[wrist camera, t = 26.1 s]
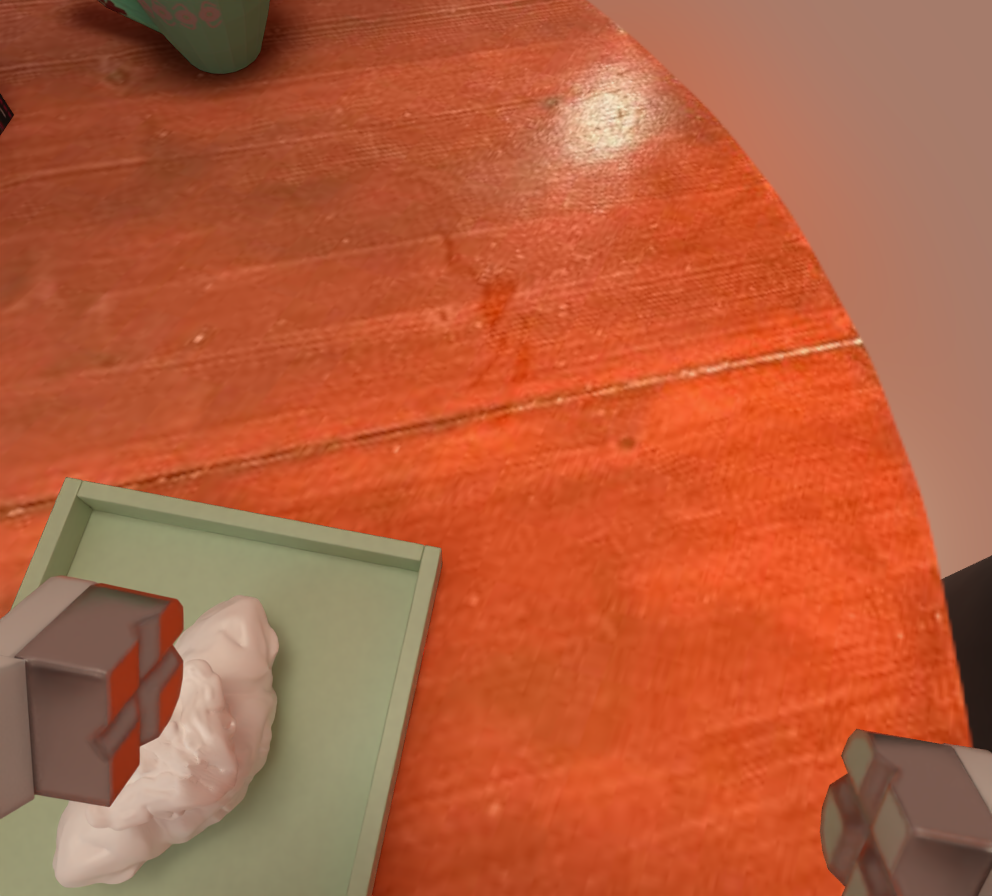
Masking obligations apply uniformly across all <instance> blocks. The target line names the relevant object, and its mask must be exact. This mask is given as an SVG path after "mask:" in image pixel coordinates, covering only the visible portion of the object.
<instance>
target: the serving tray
mask: <svg viewBox="0 0 992 896" xmlns="http://www.w3.org/2000/svg"><path fill="white" fill-rule="evenodd" d="M441 568H442V551H441V548H438V547H433V546H428V545H425V546H424V545H422V544H417V543H412V542H406V541H401V540H396V539H391V538H385V537H380V536H375V535H369V534H364V533H359V532H354V531H348V530H343V529H338V528H332V527H327V526H322V525H316V524H311V523H306V522H301V521H295V520H290V519H285V518H279V517H274V516H269V515H263V514H258V513H253V512H248V511H242V510H237V509H232V508H226V507H221V506H216V505H211V504H205V503H200V502H195V501H189V500H184V499H179V498H173V497H168V496H163V495H158V494H152V493H147V492H142V491H136V490H131V489H126V488H120V487H115V486H110V485H105V484H99V483H94V482H89V481H82V480H79V479H74V478H68V477H66V478H65V481H64V483H63V485H62V488H61V490H60V493H59V495H58V497H57V500H56V502H55V505H54V507H53V509H52V512H51V514H50V517H49V519H48V521H47V524H46V526H45V529H44V531H43V533H42V536H41V538H40V541H39V543H38V545H37V548H36V550H35V553H34V555H33V557H32V560H31V562H30V565H29V567H28V569H27V572H26V574H25V577H24V579H23V581H22V584H21V586H20V589H19V591H18V593H17V596H16V598H15V601H14V603H13V605H12V608H11V610H12V609H13V608H14V607H15V606H17V605H18V604H19V603H20V602H21V601H22V600H24V599H25V598H26V597H27V596H28V595H30V594H31V593H32V592H33V591H34V590H36V589H37V588H38V587H39V586H40V585H42V584H43V583H44V582H45V581H46V580H47V579H49V578H50V577H55V576H61V575H63V576H68V577H73V578H79V579H84V580H89V581H94V582H97V583H104V584H109V585H114V586H118V587H123V588H128V589H132V590H137V591H142V592H147V593H151V594H156V595H161V596H165V597H170V598H175V599H178V600H179V602H180V603H181V604H182V606H183V615H184V630H183V632H184V631H185V630H186V629H188V628H189V627H190V626H192V625H193V624H194V623H195V622H196V620H197V619H198V618H199V617H200V616H201V615H202V614H203V613H205V612H206V611H207V610H209V609H210V608H212V607H214V606H215V605H217V604H219V603H221V602H223V601H228V600H229V599H231V598H232V597H234V596H236V595H242V596H249V597H254V598H257V599H258V600H259V601H260V603H261V604H262V606H263V609H264V611H265V613H266V616H267V620H268V623H269V625H270V627H271V628H272V629H273V630H274V631H275V633H276V635H277V637H278V642H279V649H278V653H277V655H276V657H275V659H274V662H273V665H272V676H273V682H272V687H273V689H274V691H275V692H276V695H277V706H276V714H275V719H274V721H273V724H272V726H271V731H272V739H271V741H270V750H269V752H268V755H267V760H266V763H265V765H264V766H263V767H262V769H261V770H260V771H259V772H258V773H256V774H255V775H254V777H253V780H252V781H251V782H250V783H249V785H248V789H247V792H246V795H245V797H244V799H243V800H242V801H241V802H240V803H239V804H238V805H237V806H236V807H235V808H234V809H233V810H232V811H231V812H229V813H228V814H226V815H225V816H224V817H223V818H222V820H221V821H219V822H217V823H215V824H213V825H210V826H208V827H207V828H206V829H205V830H204V831H202V832H201V833H199V834H198V835H196V836H195V837H193V838H192V839H190V840H189V841H187V842H185V843H181V844H172V845H171V846H170V847H169V848H168V849H167V850H166V851H164V852H163V853H162V854H161V855H159V856H158V857H156V858H153V859H150V860H147V861H146V862H145V863H144V864H143V865H142V866H141V867H140V869H139V870H138V871H137V872H136V873H135V875H134V876H133V877H132V878H130V879H129V880H127V881H124V882H122V883H119V884H105V883H96V884H92V885H88V886H83V887H77V888H66V887H64V886H62V885H61V884H60V883H59V882H58V881H57V879H56V877H55V871H54V869H53V866H52V862H53V857H54V854H55V851H56V836H57V828H58V824H59V821H60V817H61V815H62V813H63V812H64V810H65V808H66V807H67V805H68V802H69V800H63V799H58V798H52V797H46V796H40V795H34V797H35V798H34V799H33V800H32V801H30V802H28V803H27V804H25V805H23V806H22V807H20V808H18V809H17V810H15V811H13V812H12V813H10V814H8V815H7V816H5V817H3V818H2V819H0V896H372V891H373V886H374V882H375V877H376V872H377V868H378V863H379V858H380V854H381V849H382V844H383V840H384V835H385V830H386V825H387V821H388V816H389V811H390V807H391V802H392V797H393V793H394V788H395V783H396V779H397V774H398V769H399V765H400V760H401V755H402V751H403V746H404V741H405V736H406V732H407V727H408V722H409V718H410V713H411V708H412V704H413V699H414V694H415V690H416V685H417V680H418V676H419V671H420V666H421V661H422V657H423V652H424V647H425V643H426V638H427V633H428V629H429V624H430V619H431V615H432V610H433V605H434V601H435V596H436V591H437V587H438V582H439V577H440V572H441ZM11 610H10V611H11ZM183 632H182V633H183ZM182 633H181V634H182ZM181 634H180V636H181ZM180 636H179V637H180ZM179 637H178V638H177V639H176V641H175V642H174V643H173V646H174V645H175V644H176V642H177V640H178V639H179Z"/></svg>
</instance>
